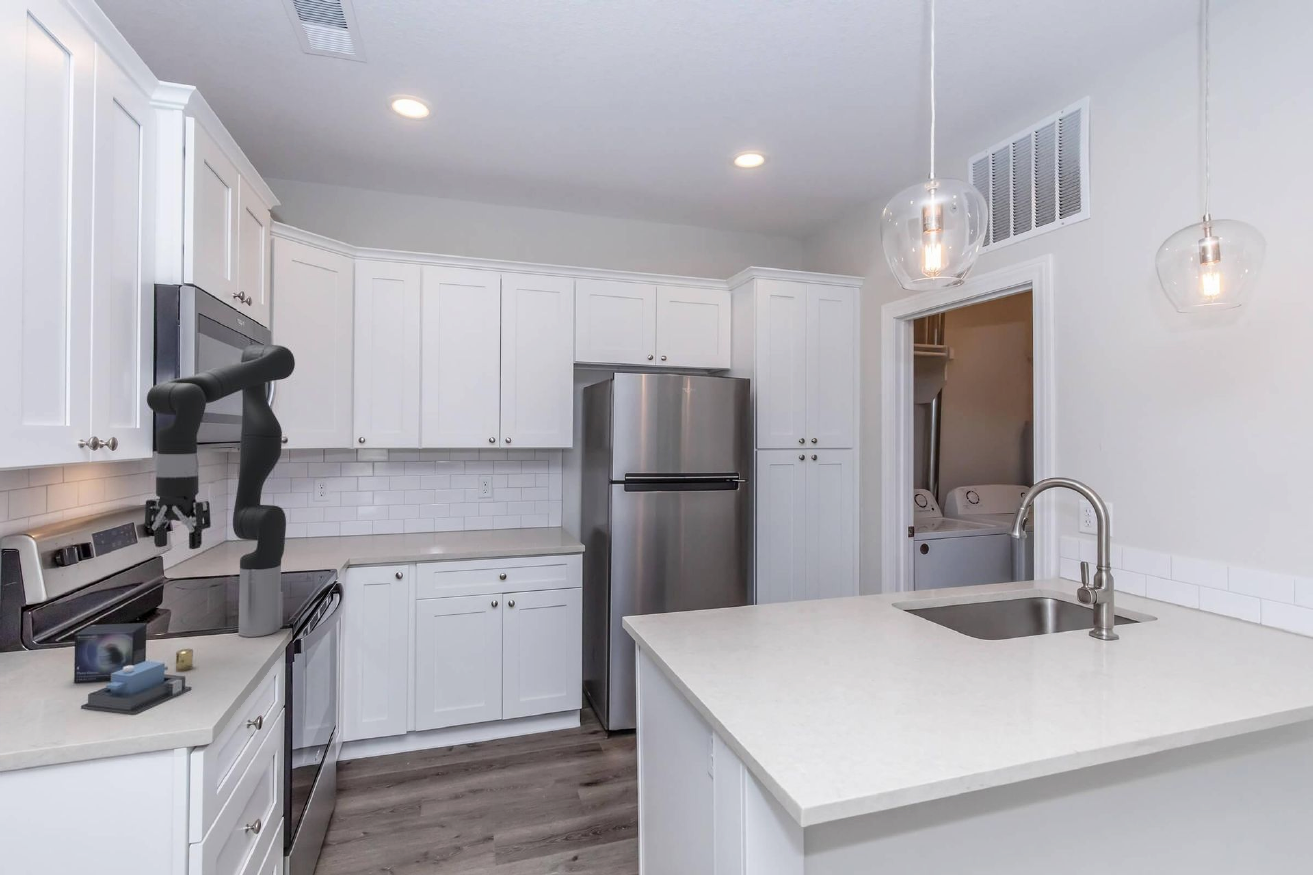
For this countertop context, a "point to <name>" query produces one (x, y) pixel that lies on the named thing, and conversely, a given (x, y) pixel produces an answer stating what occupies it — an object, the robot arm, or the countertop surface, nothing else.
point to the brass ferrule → (184, 660)
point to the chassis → (137, 697)
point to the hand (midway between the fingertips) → (177, 547)
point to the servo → (137, 677)
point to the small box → (108, 650)
